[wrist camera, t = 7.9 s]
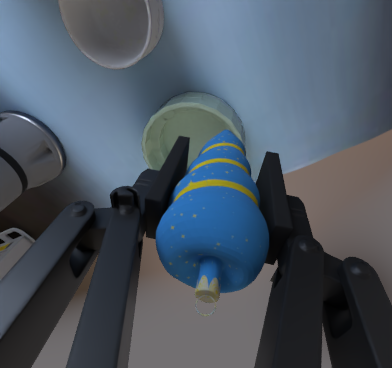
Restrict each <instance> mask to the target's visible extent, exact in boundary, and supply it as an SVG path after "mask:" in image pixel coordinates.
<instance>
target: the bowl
mask: <svg viewBox="0 0 392 368" xmlns="http://www.w3.org/2000/svg"><path fill="white" fill-rule="evenodd" d="M223 130H230V131H231V132H232V133H233V134H234V135H235V136H236V137H238V138H239V139H240V140H241V142H242V143H243V145H244V147H245V135H244V131H243V126H242V123H241V121H240V119H239V118H238V116H237V114H236V113H235V111H234V110H233V109H232V108H231V107H230V106H229V105H227V104H226V103H225V102H224V101H223V100H221V99H220V98H217V97H215V96H212V95H209V94H207V93H199V92H187V93H184V94H180V95H177V96H174V97H172V98H171V99H169V100H168V101H167V102H166V103H164V104H163V105H162V106H161V107H160V108H159V109H158V110H157V111H156V112H155V114H154V115H153V116H152V117H151V119H150V120H149V122H148V124H147V125H146V127H145V128H144V131H143V137H142V143H141V145H142V151H143V156H144V159H145V161H146V163H147V165H148V167H149V169H153V170H158V171H160V169H161V167H162V165H163V164H164V162H165V160H166V158H167V156H168V155H169V153H170V151H171V149H172V147H173V146H174V144H175V142H176V140H177V138H178V136H185V137H190V143H189V153H188V163H187V169H188V168H189V166H190V165H191V164H192V162H193V161H194V160H195V159H196V158H197V157H198V155H199V153H200V151H201V149H202V148H203V146H204V145H205V144H206V143H207V142H208V141H209V140H210V139H211V138H213V137H214V136H216V135H217V134H219V133H221V132H222V131H223Z"/></svg>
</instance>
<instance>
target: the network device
mask: <svg viewBox="0 0 392 368" xmlns="http://www.w3.org/2000/svg"><path fill="white" fill-rule="evenodd" d="M13 231H16V232H18V233H19V234H21V235H22V236H21V237H18V238H15V239H12V238H10V237H9V236H8V235H7V234H9V233H11V232H13ZM0 239H2V240H3V241H5V243H3V244H0V280H1V279H2V278H3V277H4V276H5V275H6V274H7V272H8V271H9V270H10V269H11V268H12V267H13V266H14V265H15V263H16V262H17V261H18V260H19V259H20V258H21V257H22V256H23V254H24V253H25V252H26V251H27V250H28V249H29V248H30V247H31V245H32V244H33V243H34V242H35V240H34V239H33V238H31V237H30V236H29V235H28V234H26V233H25V232H24V231H22V230H20V229H18V228H11V229H8V230H6V231H4V232H1V233H0Z"/></svg>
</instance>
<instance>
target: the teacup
mask: <svg viewBox="0 0 392 368" xmlns="http://www.w3.org/2000/svg"><path fill="white" fill-rule="evenodd" d="M58 3H59V9H60V13H61V17H62V20H63V23H64V25H65V27H66V29H67V31H68V33H69V35H70V37H71V39H72V40H73V42H74V43H75V45H76V46H77V47H78V48H79V49H80V51H81V52H82V53H83V54H84V55H85V56H87V57H88V58H89V59H90V60H92V61H93V62H95V63H97V64H98V65H100V66H103V67H106V68H109V69H124V68H128V67H130V66H132V65H134V64H136V63H137V62H138V61H139V60H140V59H142V58H144V57H145V56H146V55H148V54H149V53H150V52H151V51H152V50H153V49H154V48H155V47H156V45H157V43H158V42H159V40H160V37H161V34H162V31H163V25H164V11H163V4H162V0H58Z"/></svg>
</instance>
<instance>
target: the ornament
mask: <svg viewBox="0 0 392 368" xmlns="http://www.w3.org/2000/svg"><path fill="white" fill-rule="evenodd" d="M245 156H246V151H245V147H244V145H243V143H242V142H241V140H240V139H239V138H238V137H236V136H235V135H234V134H233V133H232V132H231V131H230V130H223V131H222V132H221V133H219V134H217V135H216V136H214V137H213V138H211V139H210V140H209V141H208V142H207V143H206V144H205V145H204V146H203V148H202V149H201V151H200V153H199V155H198V157H197V158H196V159H195V160H194V161H193V162H192V164H191V165H190V166H189V168H188V169H187V171H186V173H185V176H184V178H183V179H182V180H181V181H179V183H178V184H177V185H176V187H175V188H174V190H173V191H172V193H171V195H170V198H169V202H168V206H167V211H166V212H165V213H164V215H163V216H162V218H161V220H160V223H159V225H158V227H157V230H156V247H157V251H158V255H159V258H160V260H161V262H162V264H163V266H164V268H165V269H166V270H167V272H168V273H169V274H170V275H172V276H173V277H174V278H176V279H178V280H180V281H181V282H183V283H185V284H187V285H189V286H191V287H193V288H196V290H195V296H196V298H198V300H201V301H203V302H206V303H212V302H217V301H218V299H219V296H220V293H227V292H234V291H238V290H241V289H243V288H245V287H246V286H248V285H249V284H250V283H252V281H254V280H255V279H256V277H257V275H258V274H259V273H260V271H261V269H262V267H263V265H264V263H265V260H266V257H267V253H268V249H269V232H268V227H267V224H266V221H265V219H264V217H263V214H262V213H261V211H260V210H259V206H260V195H259V191H258V188H257V186H256V184H255V183H254V181H253V180H252V178H251V168H250V165H249V162H248V160H247V159H246V157H245ZM198 300H197V301H196V304H195V307H196V305H197V302H198ZM215 309H216V303H215V308H214V311H215ZM196 310H197V307H196ZM214 311H213V312H212V313H211V314H213V313H214ZM197 312H198V313H199V314H200V315H202V316H209V315H211V314H209V315H204V314H201V313H200V312H199V311H198V310H197Z"/></svg>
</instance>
